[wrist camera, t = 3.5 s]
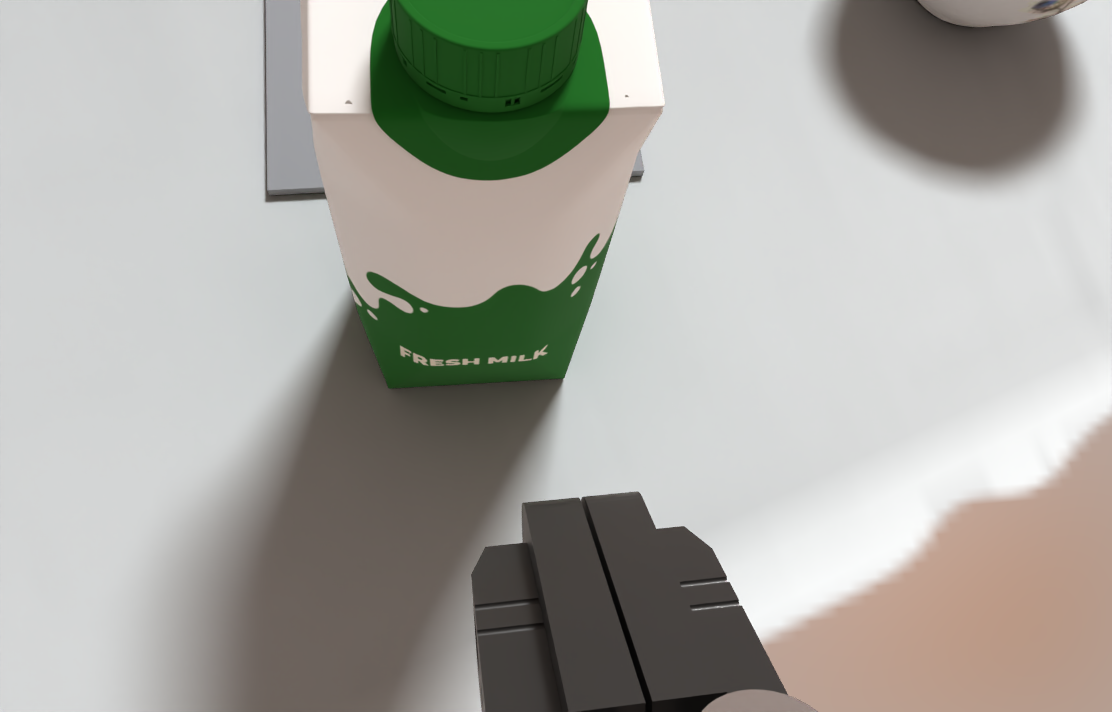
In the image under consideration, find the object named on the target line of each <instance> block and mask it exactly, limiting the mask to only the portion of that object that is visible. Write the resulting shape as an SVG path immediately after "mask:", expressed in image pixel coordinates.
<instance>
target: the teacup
mask: <svg viewBox="0 0 1112 712" xmlns="http://www.w3.org/2000/svg"><path fill="white" fill-rule="evenodd" d="M917 1H918V2H919V3H920V4H921V5H922V6H923V7H924V8H925V9H926V10H928V11H929V12H930V13H931V14H933V15H934V16H936V17H937V18H939V19H941V20H943V21H946V22H949V23H953V24H956V25H961V26H969V27H989V26H1003V25H1013V24H1021V23H1027V22H1031V21H1035V20H1039V19H1043V18H1047V17H1050V16H1054V15H1056V14H1059V13H1061V12H1063V11H1066V10H1068V9H1070V8H1073V7H1075V6H1077V5H1079V4H1082V3H1084V2H1085V1H1087V0H917Z"/></svg>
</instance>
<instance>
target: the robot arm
mask: <svg viewBox="0 0 1112 712" xmlns="http://www.w3.org/2000/svg"><path fill="white" fill-rule="evenodd" d="M522 536H523V543H519V544H509V545H500V546H490V547H485V549H484V551H483V553H482V555H481V557H480V559H479V561H478V563H477V565H476V566H475V568H474V570H473V572H472V574H471V577H472V592H473V607H474V621H475V636H476V651H477V665H478V677H479V687H480V697H481V707H482V712H818V711H816V710H815V709H813V708H812V707H811V706H809V705H808V704H806V703H804V702H802V701H800V700H798V699H796V698H793V697H791V696H788V694H787V692H786V690H785V688H784V686H783V684H782V682H781V681H780V679H779V677H778V675H777V673H776V671H775V669H774V667H773V665H772V663H771V661H770V659H769V657H768V655H767V654H766V652H765V650H764V648H763V646H762V644H761V642H760V640H759V638H758V636H757V634H756V632H755V630H754V628H753V627H752V625H751V623H750V621H749V619H748V617H747V615H746V613H745V611H744V609H743V607H742V606H739V600H738V598H737V596H736V594H735V592H734V590H733V588H732V586H731V584H730V582H727V576H726V574H725V573H724V571H723V569H722V567H721V565H720V563H719V561H718V559H717V557H716V555H715V553H714V551H713V549H712V548H711V547H709V546H708V545H707V544H706V543H704V542H703V541H702V540H701V539H699V538H698V537H697V536H695V535H694V534H693V533H692V532H690V531H689V530H688V529H687V528H685V527H684V526H681V527H672V528H662V529H656V528H655V525H654V523H653V521H652V518H651V516H650V514H649V512H648V509H647V507H646V505H645V502H644V500H643V498H642V496H641V494H640V493H639V492H628V493H618V494H608V495H598V496H587V497H582V499H581V500H580V499H579V498H569V499H559V500H549V501H538V502H528V503H523V504H522Z"/></svg>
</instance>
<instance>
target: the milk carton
mask: <svg viewBox="0 0 1112 712" xmlns="http://www.w3.org/2000/svg"><path fill="white" fill-rule="evenodd" d="M300 13H301V32H302V91H303V97H304V100H305V104H306V107H307V111H308V113H309V114H311V123H312V129H313V142H314V148H315V153H316V157H317V162H318V166H319V170H320V174H321V178H322V182H323V186H324V189H325V193H326V197H327V201H328V205H329V209H330V212H331V216H332V220H333V224H334V228H335V231H336V235H337V239H338V243H339V247H340V250H341V254H342V258H343V262H344V265H345V269H346V273H347V277H348V280H349V283H350V287H351V290H352V294H353V297H354V301H355V304H356V307H357V311H358V314H359V317H360V319H361V322H362V324H363V327H364V329H365V332H366V334H367V337H368V339H369V341H370V344H371V346H372V349H373V351H374V354H375V356H376V358H377V361H378V363H379V366H380V368H381V370H382V373H383V375H384V378H385V380H386V383H387V386H388V388H390V389H391V388H408V387H425V386H442V385H459V384H476V383H494V382H511V381H528V380H545V379H563V378H565V374H566V372H567V369H568V366H569V363H570V360H571V358H572V355H573V352H574V349H575V346H576V344H577V341H578V338H579V335H580V332H581V330H582V327H583V324H584V321H585V319H586V316H587V313H588V310H589V307H590V304H591V302H592V299H593V295H594V292H595V289H596V286H597V283H598V280H599V277H600V273H601V270H602V267H603V264H604V261H605V257H606V254H607V251H608V248H609V245H610V241H611V238H612V235H613V232H614V229H615V225H616V222H617V219H618V216H619V213H620V209H621V206H622V203H623V200H624V196H625V193H626V190H627V187H628V184H629V180H630V177H631V174H632V171H633V167H634V164H635V161H636V157H637V154H638V152H639V150H640V149H641V147H642V145H643V144H644V142H645V140H646V139H647V137H648V135H649V134H650V132H651V130H652V129H653V127H654V125H655V124H656V122H657V120H658V119H659V117H660V115H661V114H662V112H663V107H664V105H665V101H664V94H663V87H662V81H661V74H660V68H659V61H658V55H657V48H656V41H655V35H654V28H653V22H652V15H651V9H650V2H649V0H300Z"/></svg>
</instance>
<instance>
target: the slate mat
mask: <svg viewBox="0 0 1112 712" xmlns="http://www.w3.org/2000/svg"><path fill="white" fill-rule="evenodd" d="M266 98H267V191H268V193H269V195H285V194H304V193H323V192H325V189H324V186H323V182H322V178H321V174H320V170H319V166H318V162H317V157H316V153H315V148H314V142H313V129H312V123H311V114H309V113H308V111H307V107H306V104H305V100H304V97H303V91H302V32H301V13H300V0H266ZM643 173H644V167H643V161H642V156H641V150H639V152H638V154H637V157H636V161H635V164H634V167H633V171H632V174H631V176H643Z"/></svg>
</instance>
